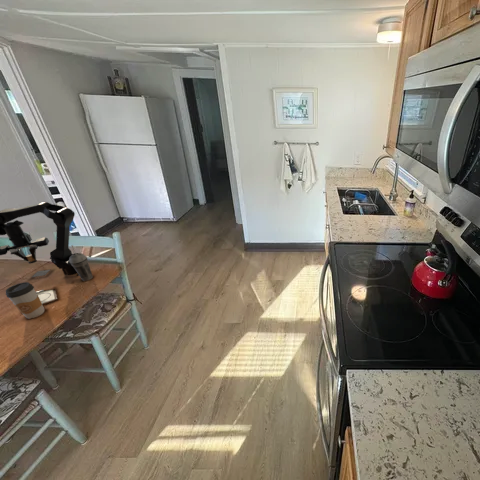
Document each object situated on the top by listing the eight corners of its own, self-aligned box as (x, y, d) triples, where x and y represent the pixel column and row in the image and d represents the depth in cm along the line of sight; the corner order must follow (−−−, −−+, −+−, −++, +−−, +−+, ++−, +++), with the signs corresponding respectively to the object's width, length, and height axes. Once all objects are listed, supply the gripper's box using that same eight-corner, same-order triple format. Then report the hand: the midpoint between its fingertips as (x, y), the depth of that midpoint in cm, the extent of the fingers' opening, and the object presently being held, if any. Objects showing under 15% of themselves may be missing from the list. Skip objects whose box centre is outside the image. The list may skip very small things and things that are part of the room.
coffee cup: (18, 322, 115) (-1, 295, 108) (28, 310, 122) (10, 284, 115) (43, 317, 118) (25, 290, 111) (51, 305, 125) (35, 279, 118)
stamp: (38, 260, 144) (34, 253, 142) (34, 263, 141) (30, 256, 139) (31, 261, 143) (27, 254, 141) (27, 264, 140) (23, 257, 138)
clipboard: (54, 287, 137) (53, 285, 137) (57, 299, 129) (56, 297, 128) (22, 298, 130) (20, 296, 129) (23, 312, 121) (21, 310, 120)
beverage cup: (77, 283, 140) (59, 251, 131) (81, 276, 146) (64, 244, 136) (94, 280, 143) (78, 247, 134) (97, 273, 149) (82, 241, 139)
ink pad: (53, 270, 152) (52, 268, 151) (46, 276, 146) (45, 275, 146) (37, 272, 150) (37, 271, 150) (30, 279, 144) (29, 278, 144)
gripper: (43, 224, 145) (56, 248, 152) (-6, 233, 135) (11, 259, 142) (39, 231, 137) (54, 256, 144) (-13, 241, 127) (5, 268, 134)
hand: (31, 260), depth 141 cm, fingers closed on stamp, 2 cm apart
